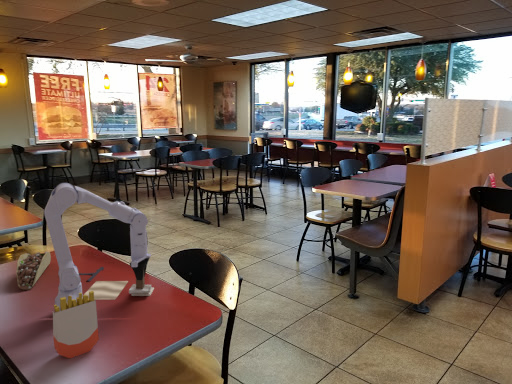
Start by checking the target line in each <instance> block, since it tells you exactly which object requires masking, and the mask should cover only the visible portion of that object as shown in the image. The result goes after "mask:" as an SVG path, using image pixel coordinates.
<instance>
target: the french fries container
mask: <svg viewBox="0 0 512 384" xmlns="http://www.w3.org/2000/svg"><path fill="white" fill-rule="evenodd" d="M82 294H83V292H82V293H79V297H77V298H76V300H77V303H76V300H75V299H73V300H72V296H68V301H67V302H68V304H67V302H66V298H65V297H63V298H60V308H59V306H57V305H55V304H54V305H53V307H54V308H53V309H54V310H52V330H53V331H52V336H53V344H54V349H55V350H56V353H57V354H58V355H59V356H61V357H65V358H68V359H72V358H76V357H78V356H80V355H83V354H86V353H89V352H91V350H93V348H94V347H95V345H97V342H98V341H99V340H100V338H99V337H100V336H99V335H100V334H99V327H98V323H99V322H98V313H97V301H96V300H95V299H94V292H93V291H90V292H89V299H88V295H84V294H83V299H82ZM60 310H61V311H60ZM75 356H76V357H75Z"/></svg>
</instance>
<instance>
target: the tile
mask: <svg viewBox="0 0 512 384" xmlns="http://www.w3.org/2000/svg"><path fill="white" fill-rule="evenodd" d="M154 289H155V287H152V286H151V290H150V292H149V294H131V295H130V296H133V297H135V296H136V297H137V296H138V297H144V296H146V297H151V295H152V294H153V291H154Z"/></svg>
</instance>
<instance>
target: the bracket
mask: <svg viewBox="0 0 512 384" xmlns="http://www.w3.org/2000/svg"><path fill="white" fill-rule="evenodd" d="M104 269H105V267H103V266H100V267H99V268H98V269H95V272H90V273H89V272H88V273H87V272H86V273H83V272H82V273H80V272H78V273H79V276H90V277H89V278H88V279H87V280H86V282H91V281H92V280H94V278H95V277H96V276H98V274H99V273H100V272H101V271H104Z"/></svg>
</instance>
